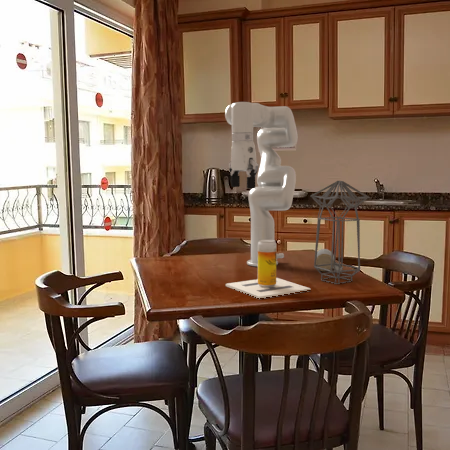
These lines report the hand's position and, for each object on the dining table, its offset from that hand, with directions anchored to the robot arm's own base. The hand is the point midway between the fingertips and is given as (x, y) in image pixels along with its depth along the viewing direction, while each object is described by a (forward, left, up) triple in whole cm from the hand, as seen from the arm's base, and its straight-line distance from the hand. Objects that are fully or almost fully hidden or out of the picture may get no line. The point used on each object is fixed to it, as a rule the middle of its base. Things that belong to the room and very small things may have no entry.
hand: (243, 187), depth 186 cm
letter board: (+2, +18, -32) cm, 37 cm away
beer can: (+2, +18, -32) cm, 36 cm away
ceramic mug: (-35, +6, -33) cm, 48 cm away
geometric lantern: (-26, +21, -33) cm, 47 cm away
